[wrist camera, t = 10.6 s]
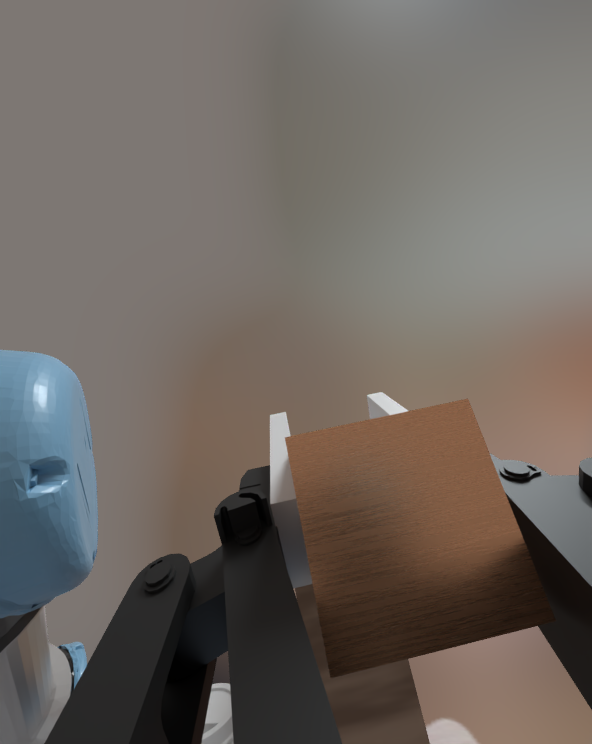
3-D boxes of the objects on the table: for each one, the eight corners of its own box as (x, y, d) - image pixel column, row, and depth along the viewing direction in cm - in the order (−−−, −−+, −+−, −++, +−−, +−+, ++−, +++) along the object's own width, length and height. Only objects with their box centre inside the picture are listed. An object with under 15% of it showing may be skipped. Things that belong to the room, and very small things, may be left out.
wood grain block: (556, 621, 5) (467, 398, 6) (330, 678, 5) (284, 437, 6) (347, 493, 27) (337, 449, 28) (305, 502, 27) (296, 458, 28)
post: (547, 1045, 18) (400, 527, 27) (348, 1109, 18) (265, 558, 27) (435, 781, 34) (365, 504, 43) (326, 811, 33) (278, 524, 42)
